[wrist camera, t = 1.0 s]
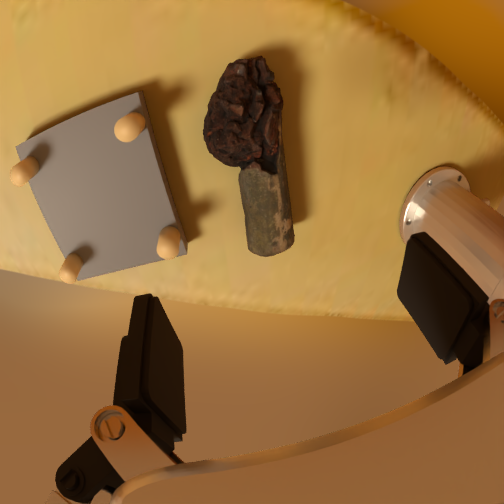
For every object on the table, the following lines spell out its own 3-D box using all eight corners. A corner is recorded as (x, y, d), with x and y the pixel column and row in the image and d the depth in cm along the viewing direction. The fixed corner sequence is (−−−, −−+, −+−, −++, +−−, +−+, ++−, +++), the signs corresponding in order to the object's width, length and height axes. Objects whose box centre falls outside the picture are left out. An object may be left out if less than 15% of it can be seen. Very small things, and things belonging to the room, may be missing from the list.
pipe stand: (142, 90, 21) (130, 94, 18) (187, 243, 31) (186, 269, 27) (25, 141, 21) (1, 154, 17) (82, 269, 30) (71, 296, 26)
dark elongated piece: (289, 226, 32) (304, 257, 27) (227, 239, 32) (232, 272, 27) (270, 56, 22) (286, 53, 17) (192, 68, 21) (188, 67, 17)
